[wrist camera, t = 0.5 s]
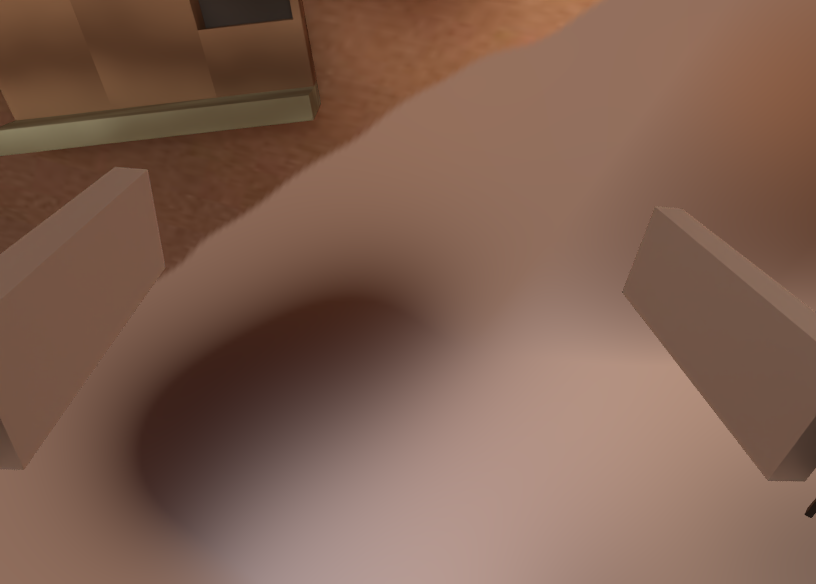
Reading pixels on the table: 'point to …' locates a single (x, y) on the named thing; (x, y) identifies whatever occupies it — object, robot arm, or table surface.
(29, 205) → the table surface
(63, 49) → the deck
